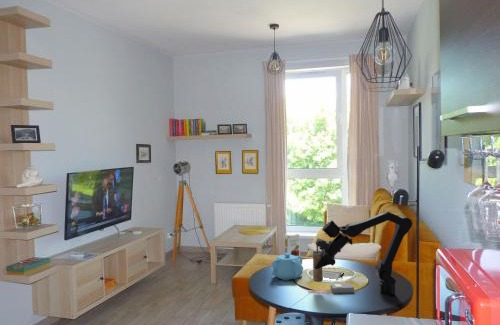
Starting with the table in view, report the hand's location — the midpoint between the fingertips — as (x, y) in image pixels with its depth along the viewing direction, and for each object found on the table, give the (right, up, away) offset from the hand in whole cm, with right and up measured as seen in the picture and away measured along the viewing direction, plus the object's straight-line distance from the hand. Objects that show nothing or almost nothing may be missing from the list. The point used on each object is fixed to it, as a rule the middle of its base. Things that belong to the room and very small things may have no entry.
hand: (314, 267), depth 192 cm
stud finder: (+14, -12, +1) cm, 18 cm away
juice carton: (-5, -13, +53) cm, 55 cm away
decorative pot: (-11, -13, +27) cm, 32 cm away
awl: (+1, -7, 0) cm, 7 cm away
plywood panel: (+8, -13, -4) cm, 16 cm away
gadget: (+11, -13, +27) cm, 32 cm away
